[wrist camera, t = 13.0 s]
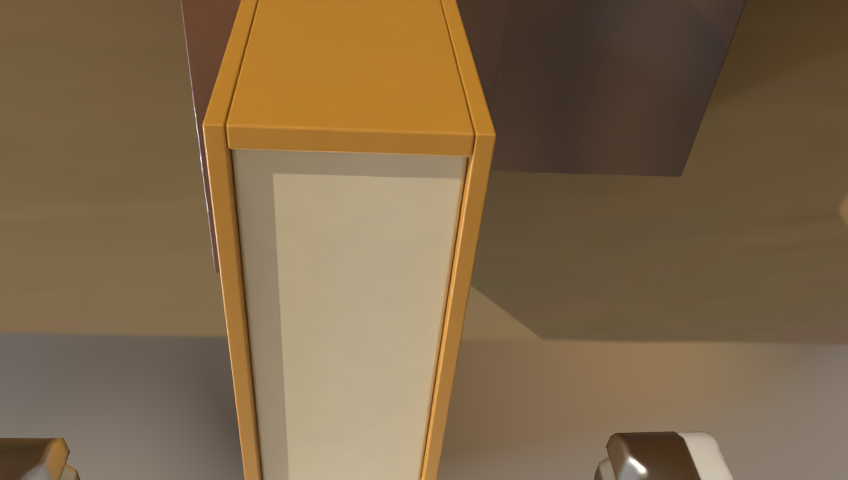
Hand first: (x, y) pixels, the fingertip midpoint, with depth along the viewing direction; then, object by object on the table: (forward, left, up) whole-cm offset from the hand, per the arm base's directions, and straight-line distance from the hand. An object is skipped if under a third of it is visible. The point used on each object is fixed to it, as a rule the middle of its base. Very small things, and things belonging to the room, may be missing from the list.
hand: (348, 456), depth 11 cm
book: (0, 0, -13) cm, 13 cm away
